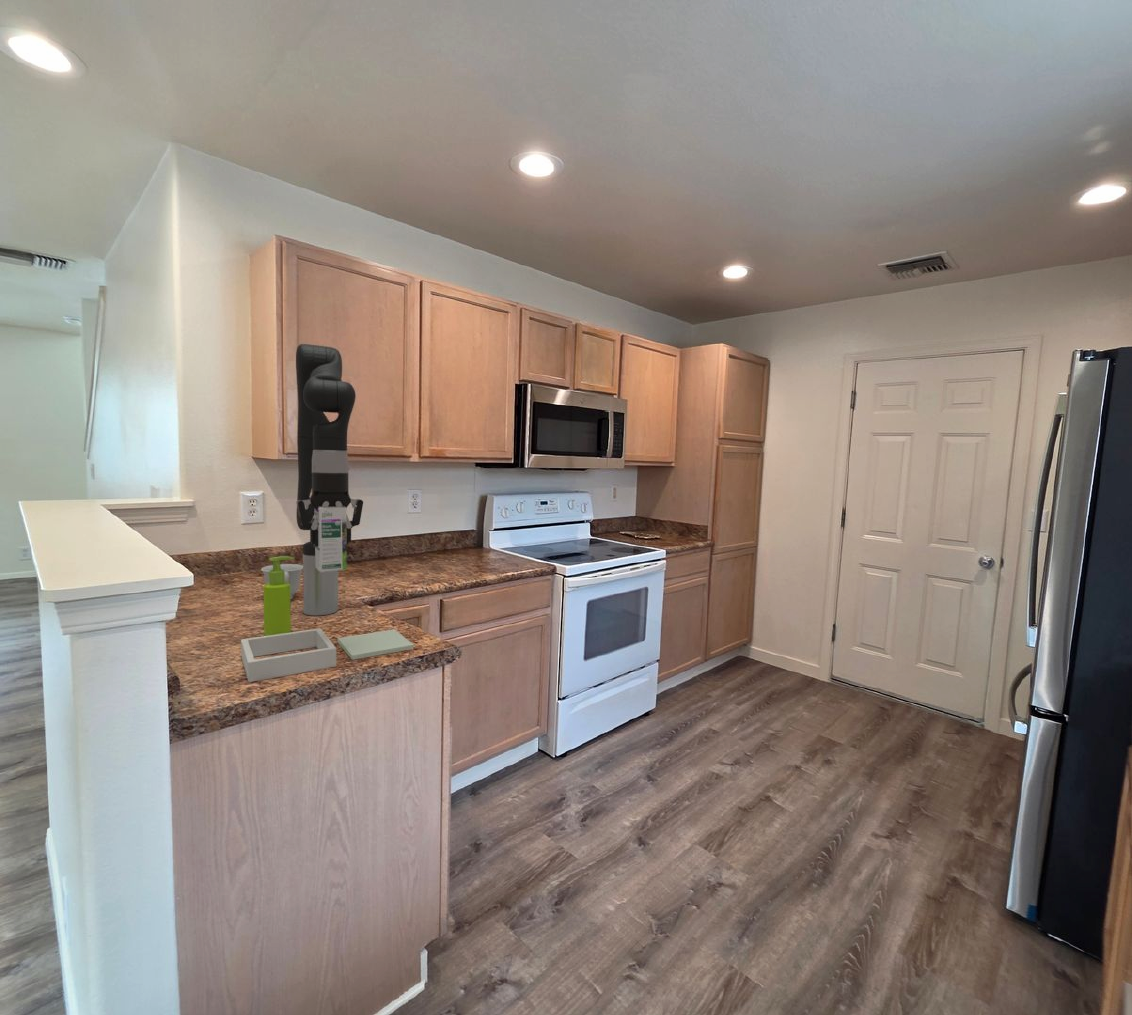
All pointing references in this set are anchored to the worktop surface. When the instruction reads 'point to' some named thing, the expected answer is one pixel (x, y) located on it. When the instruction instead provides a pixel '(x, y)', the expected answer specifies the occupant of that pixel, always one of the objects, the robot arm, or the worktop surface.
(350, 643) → the board
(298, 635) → the gray square frame
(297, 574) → the teacup
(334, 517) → the syrup box
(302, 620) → the worktop surface
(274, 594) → the soap dispenser
